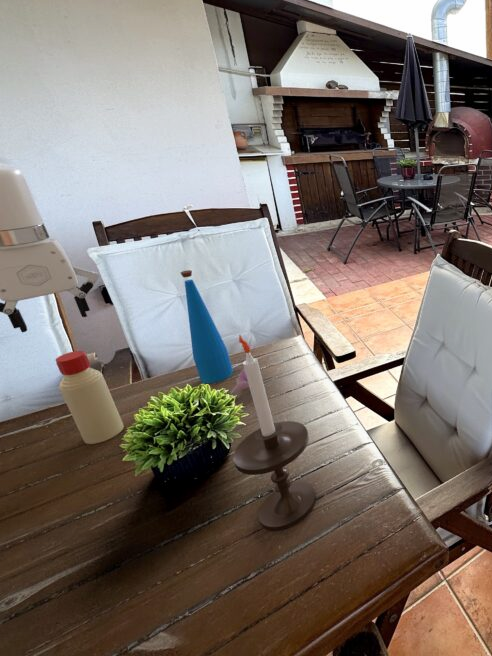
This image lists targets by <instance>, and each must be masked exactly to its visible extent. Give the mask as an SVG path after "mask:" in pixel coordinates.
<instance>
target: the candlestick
mask: <svg viewBox="0 0 492 656" xmlns="http://www.w3.org/2000/svg"><path fill="white" fill-rule="evenodd" d="M238 337H239V338H238V343H241V347H242V348H243V351H244V352H245V356H246V357H245V360H244V361H243V362H242V365H243V369H245V372H246V376H247V380H248V383H249V387H248V388H249V390H250V391H249V392H250V394H251V398H252V401H253V405H254V409H255V413H256V416H257V420H258V424H259V427H260V428H258V429H256V430H255V431H253V432H252V433H250V434H249V435H247V436H246V437H245V438H244V439H243V440H242V441H240V443H239V444H238V445H237V446H236V448H235V450H234V452H233V456H232V457H233V458H232V459H233V463H234V466H235V468H236V470H237V471H238V472H240V473H242V474H243V475H249V476H257V475H258V476H259V475H264V474H269V473H271V476H270V481H271V482H272V483H274V484H275V485H274V491H272V492H271V493H270V494H269V495H268V496H267V497H266V498H265V499H264V500H263V502H262V503H261V505H260V506H259V508H258V509H259V510H258V512H257V513H258V514H257V517H258V520H259V523H260V525H261V527H262V528H263V529H265V530H267V531H271V532H276V531H283V530H286V529H289V528H292V527H294V526H296V525H297V524H299V523H300V522H301V521H303V520H304V519H305V518H306V517H308V516H309V514H310V513H311V512H312V511H313V509H314V507H315V504H316V502H317V495H316V494H317V493H316V490H315V488H314V486H313V485H312V484H310V483H307V482H304V481H296V482H291V479H288V478H289V476H290V470H289V468H287V467H286V466H288V465H290V464H291V463H292V462H294V461H295V460H296V459H297V458H299V457H300V456H301V454H303V452H304V451H305V449H306V448H307V446H308V444H309V440H310V437H309V432H308V429H307V427H306V426H305V425H304V424H303V423H300V422H298V421H293V420H291V421H290V420H286V421H285V420H284V421H278V422H274V419H273V415H272V411H271V408H270V404H269V399H268V396H267V391H266V389H265V388H266V387H265V385H264V380H263V377H262V373H261V369H260V365H259V361H258V360H259V359H258V358H255V357H253V356H252V354H251V348H250V347H251V346H250V345H249V344H248V342H247V341H246V340H245V339H243V337H242V335H241V334H239V335H238ZM257 359H258V360H257Z"/></svg>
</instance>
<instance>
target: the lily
mask: <svg viewBox="0 0 492 656" xmlns="http://www.w3.org/2000/svg"><path fill="white" fill-rule="evenodd" d="M256 359H257V360H259V359H260V358H259V357H258V358H256ZM234 380H235V381H236V385H235V386H234V387H233V388H232V390H231V391H230V393H229V394H228V395H231V396H232V395H233V394H234V393H235V392H238V391H240V390H243V389H246V388H250V387H249V383H248V380H247V376H246V372H245V369H244V368H243V369H242V370H241V372H240V373H239V375H238V376H237V377H236V378H235V379H234Z"/></svg>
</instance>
